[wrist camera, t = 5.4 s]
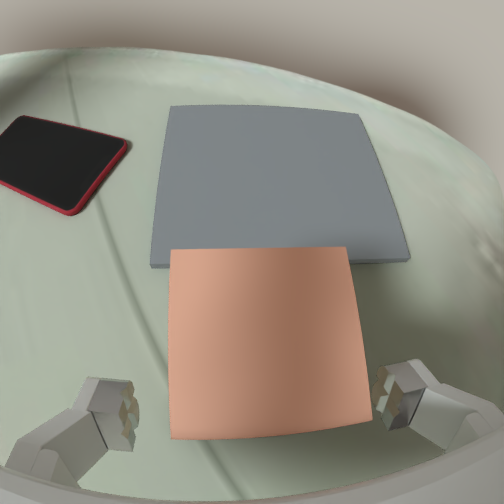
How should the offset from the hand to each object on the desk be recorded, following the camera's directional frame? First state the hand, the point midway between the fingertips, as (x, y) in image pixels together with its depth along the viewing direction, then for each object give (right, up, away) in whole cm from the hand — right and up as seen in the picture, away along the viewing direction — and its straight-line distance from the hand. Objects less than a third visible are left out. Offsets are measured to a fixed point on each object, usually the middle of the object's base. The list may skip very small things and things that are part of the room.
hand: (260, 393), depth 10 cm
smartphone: (-18, +12, +12) cm, 25 cm away
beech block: (-1, -2, +6) cm, 7 cm away
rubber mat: (+1, +10, +12) cm, 16 cm away
